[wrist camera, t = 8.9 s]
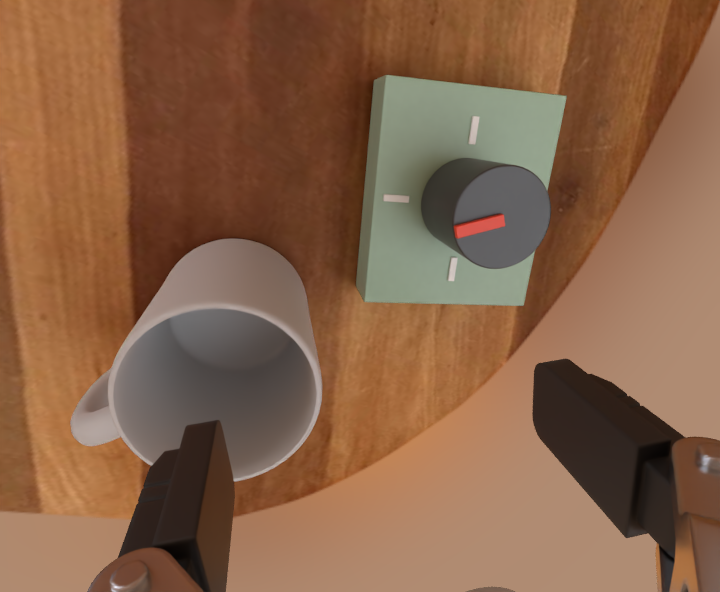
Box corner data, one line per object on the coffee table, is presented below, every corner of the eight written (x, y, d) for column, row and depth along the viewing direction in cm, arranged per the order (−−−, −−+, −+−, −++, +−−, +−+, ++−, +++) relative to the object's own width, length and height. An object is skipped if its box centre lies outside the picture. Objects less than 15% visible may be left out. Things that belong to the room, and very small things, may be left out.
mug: (269, 213, 28) (269, 263, 18) (328, 333, 31) (356, 435, 21) (78, 298, 28) (-33, 397, 18) (157, 411, 31) (101, 551, 21)
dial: (498, 148, 26) (551, 153, 21) (507, 233, 28) (558, 256, 23) (413, 169, 26) (447, 179, 21) (428, 254, 27) (462, 282, 22)
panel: (502, 290, 32) (525, 307, 29) (355, 286, 30) (364, 303, 28) (538, 98, 29) (569, 95, 26) (373, 79, 27) (386, 74, 24)
